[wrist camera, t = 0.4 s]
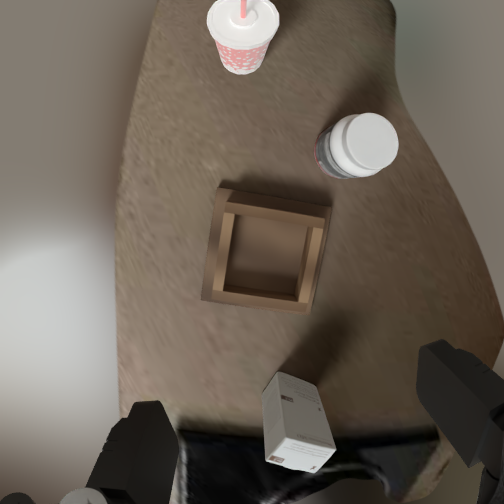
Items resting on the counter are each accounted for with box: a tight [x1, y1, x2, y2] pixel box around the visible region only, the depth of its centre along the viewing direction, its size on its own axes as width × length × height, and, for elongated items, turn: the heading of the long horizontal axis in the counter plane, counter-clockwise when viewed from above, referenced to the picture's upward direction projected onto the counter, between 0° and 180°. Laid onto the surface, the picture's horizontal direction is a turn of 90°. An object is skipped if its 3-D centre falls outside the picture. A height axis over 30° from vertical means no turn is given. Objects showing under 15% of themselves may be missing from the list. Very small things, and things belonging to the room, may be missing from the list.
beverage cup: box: [207, 0, 279, 74], centre depth 23 cm, size 6×6×14 cm
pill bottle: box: [314, 113, 398, 179], centre depth 28 cm, size 6×6×10 cm
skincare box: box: [262, 372, 336, 473], centre depth 32 cm, size 6×4×12 cm
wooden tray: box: [201, 187, 332, 315], centre depth 33 cm, size 12×12×4 cm
